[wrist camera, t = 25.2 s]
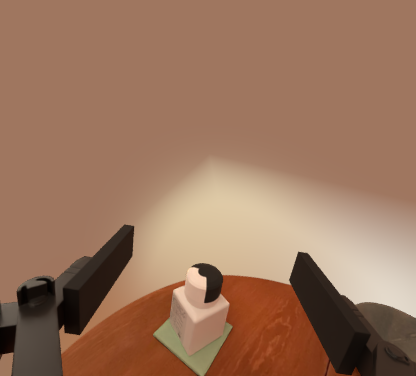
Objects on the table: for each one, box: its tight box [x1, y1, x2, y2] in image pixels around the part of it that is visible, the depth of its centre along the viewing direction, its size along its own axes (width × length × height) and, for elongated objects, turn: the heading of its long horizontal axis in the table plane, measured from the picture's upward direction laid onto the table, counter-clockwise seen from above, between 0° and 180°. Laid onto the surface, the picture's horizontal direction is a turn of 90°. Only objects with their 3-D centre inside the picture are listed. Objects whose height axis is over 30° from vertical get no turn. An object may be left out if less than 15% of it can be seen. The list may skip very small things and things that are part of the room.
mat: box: [153, 318, 233, 376], centre depth 39 cm, size 11×11×1 cm
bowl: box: [355, 302, 416, 362], centre depth 32 cm, size 19×19×10 cm
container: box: [170, 263, 229, 356], centre depth 37 cm, size 8×8×13 cm
